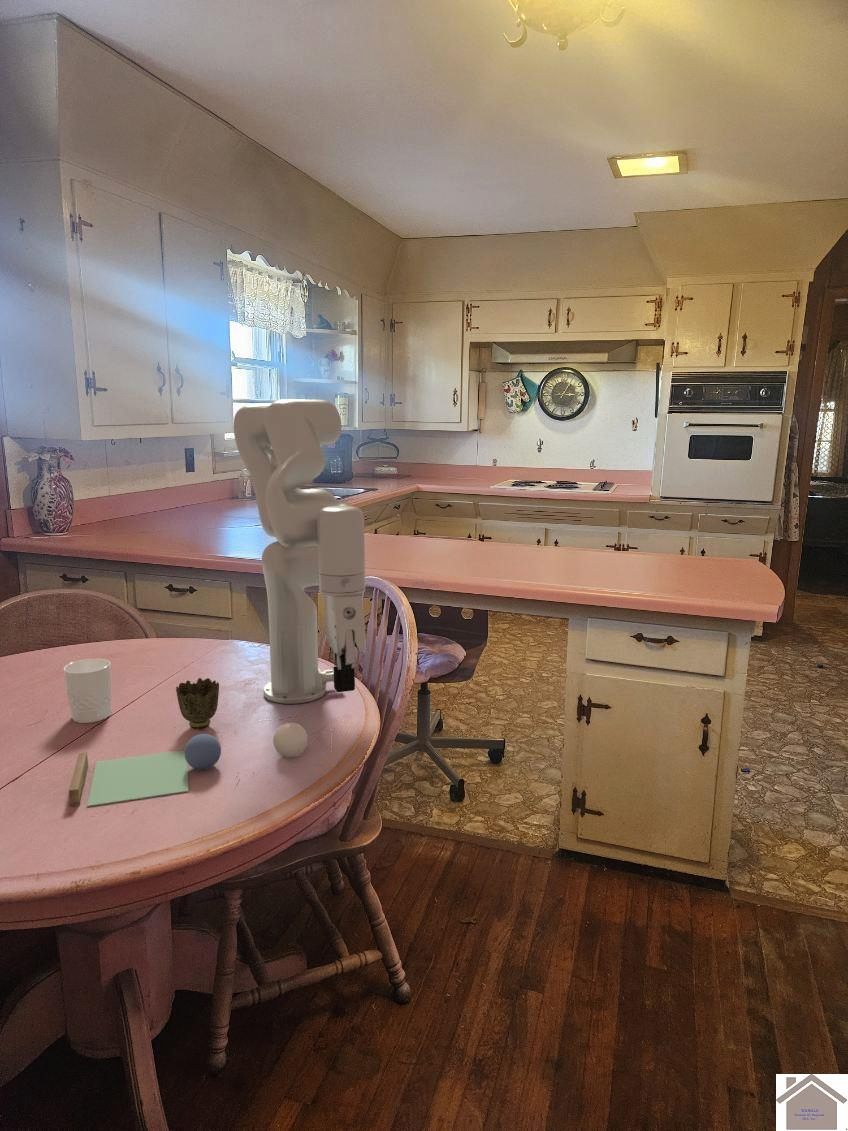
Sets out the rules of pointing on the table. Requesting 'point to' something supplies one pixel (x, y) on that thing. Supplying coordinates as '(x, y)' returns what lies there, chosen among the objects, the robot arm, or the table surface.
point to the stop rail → (78, 779)
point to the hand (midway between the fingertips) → (344, 689)
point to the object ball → (202, 751)
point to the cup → (198, 702)
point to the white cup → (89, 689)
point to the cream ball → (290, 740)
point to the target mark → (138, 778)
